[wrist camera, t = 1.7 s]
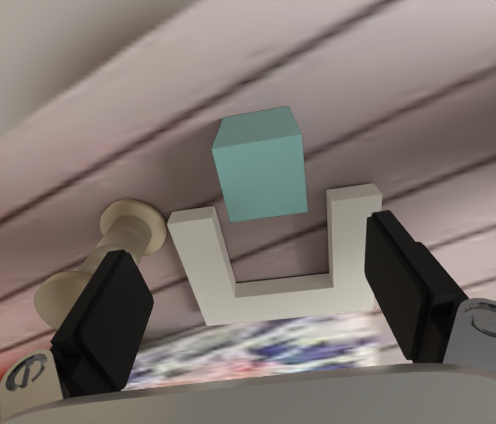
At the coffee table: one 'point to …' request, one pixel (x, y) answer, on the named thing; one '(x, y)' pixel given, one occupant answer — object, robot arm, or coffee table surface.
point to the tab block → (261, 165)
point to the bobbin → (103, 255)
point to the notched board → (286, 289)
